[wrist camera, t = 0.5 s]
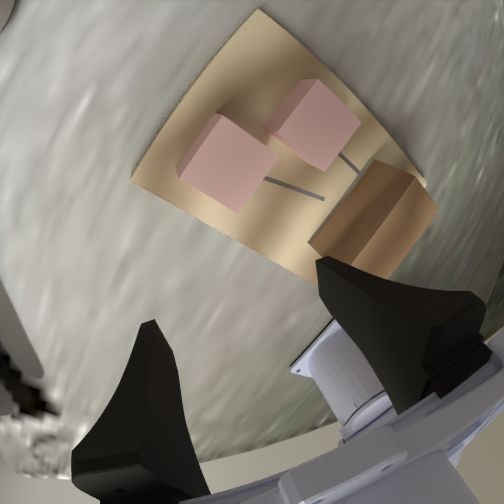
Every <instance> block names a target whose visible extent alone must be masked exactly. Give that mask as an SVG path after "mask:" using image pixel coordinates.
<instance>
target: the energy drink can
mask: <svg viewBox="0 0 504 504" xmlns="http://www.w3.org/2000/svg"><path fill="white" fill-rule="evenodd" d="M14 1H15V0H0V31H1V30H2V29H3V27H4V26H5V24H6V22H7V21H8V19H9V17H10V14H11V11H12V8H13V6H14Z"/></svg>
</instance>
